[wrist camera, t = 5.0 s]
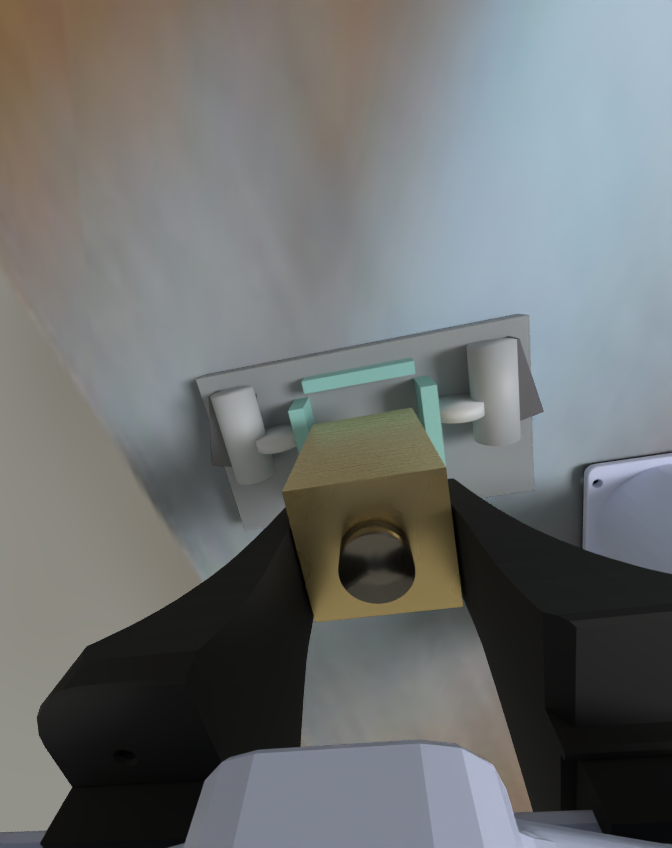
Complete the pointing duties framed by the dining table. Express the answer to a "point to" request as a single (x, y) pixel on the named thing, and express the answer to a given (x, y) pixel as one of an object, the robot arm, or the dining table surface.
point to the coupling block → (373, 518)
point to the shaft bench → (382, 407)
